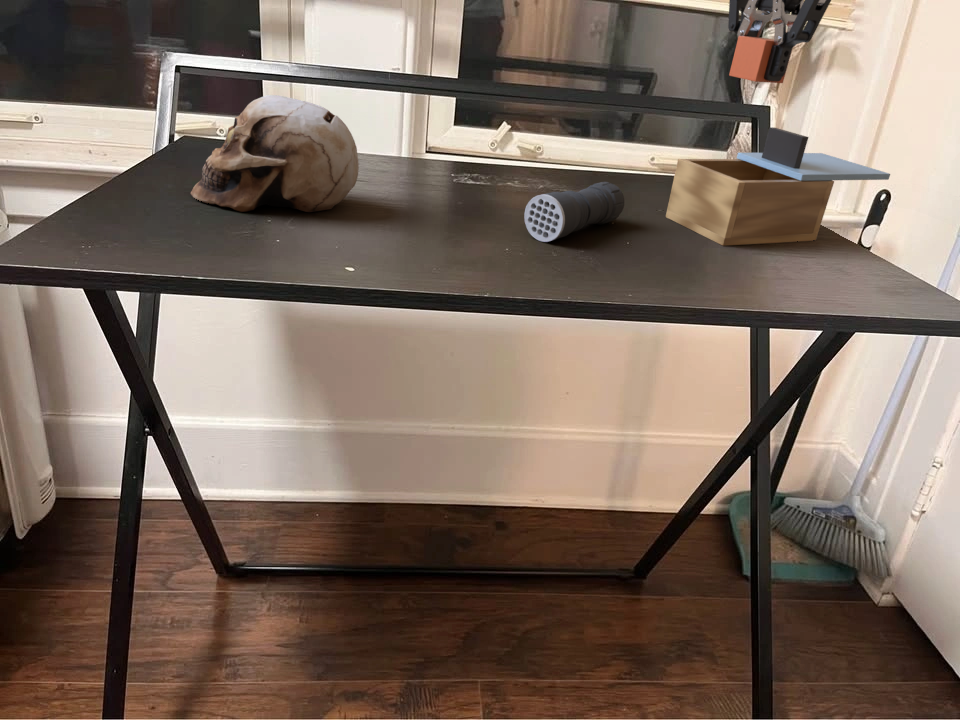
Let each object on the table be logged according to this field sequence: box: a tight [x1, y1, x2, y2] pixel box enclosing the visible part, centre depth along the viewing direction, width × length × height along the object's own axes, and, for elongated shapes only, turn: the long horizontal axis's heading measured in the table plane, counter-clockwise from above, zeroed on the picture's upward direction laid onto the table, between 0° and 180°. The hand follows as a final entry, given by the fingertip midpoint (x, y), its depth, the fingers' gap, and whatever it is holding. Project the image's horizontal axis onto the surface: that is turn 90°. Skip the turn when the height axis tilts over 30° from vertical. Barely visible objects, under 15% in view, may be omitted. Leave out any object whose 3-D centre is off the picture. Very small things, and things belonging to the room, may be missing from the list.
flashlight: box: [523, 181, 625, 243], centre depth 92 cm, size 15×5×5 cm, turn 140°
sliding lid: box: [736, 126, 891, 181], centre depth 101 cm, size 12×16×5 cm
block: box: [728, 36, 793, 84], centre depth 87 cm, size 4×4×4 cm
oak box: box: [665, 158, 835, 247], centre depth 99 cm, size 12×16×8 cm
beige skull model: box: [190, 94, 360, 213], centre depth 89 cm, size 16×17×13 cm
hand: (756, 76), depth 88 cm, fingers closed on block, 4 cm apart
